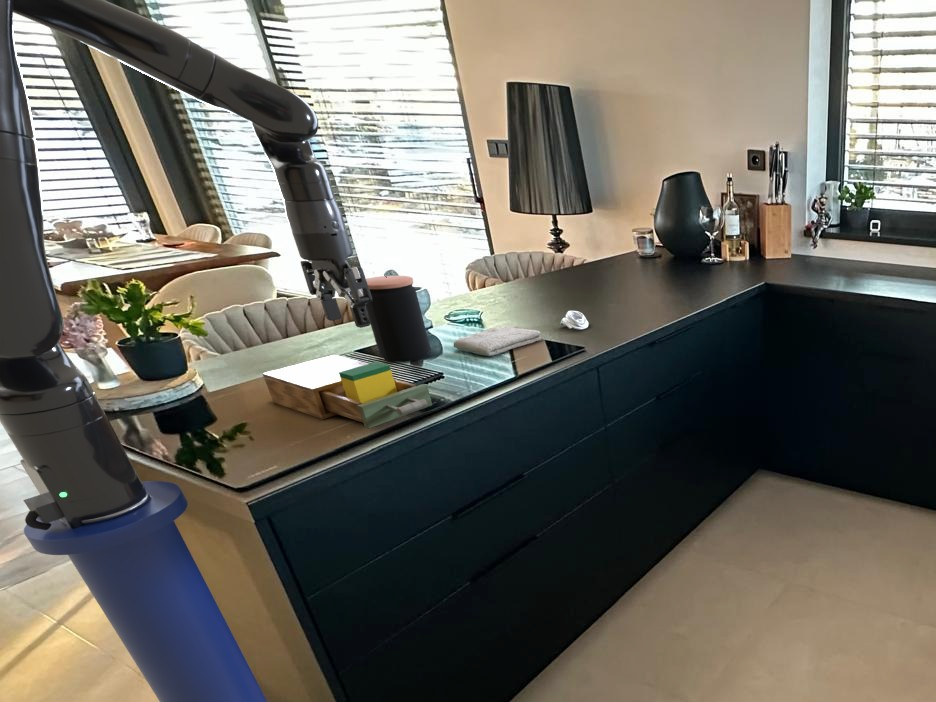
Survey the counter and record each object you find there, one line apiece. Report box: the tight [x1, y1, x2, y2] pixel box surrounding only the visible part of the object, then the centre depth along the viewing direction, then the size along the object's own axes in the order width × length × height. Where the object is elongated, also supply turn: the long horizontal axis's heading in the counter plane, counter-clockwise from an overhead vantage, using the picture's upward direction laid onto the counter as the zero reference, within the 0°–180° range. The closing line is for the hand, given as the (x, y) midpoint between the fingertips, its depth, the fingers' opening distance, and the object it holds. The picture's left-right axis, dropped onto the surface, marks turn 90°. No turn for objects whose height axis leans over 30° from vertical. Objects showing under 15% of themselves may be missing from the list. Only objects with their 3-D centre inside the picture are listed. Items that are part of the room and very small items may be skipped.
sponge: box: [339, 361, 397, 404], centre depth 117 cm, size 7×4×7 cm, turn 153°
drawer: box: [319, 377, 433, 429], centre depth 117 cm, size 20×12×4 cm, turn 63°
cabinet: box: [262, 354, 370, 420], centre depth 124 cm, size 17×14×6 cm
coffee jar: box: [361, 275, 431, 363], centre depth 145 cm, size 11×11×18 cm
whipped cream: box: [559, 310, 589, 330], centre depth 174 cm, size 8×7×5 cm
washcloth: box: [452, 325, 543, 357], centre depth 158 cm, size 12×18×3 cm, turn 155°
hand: (349, 323), depth 111 cm, fingers open, 8 cm apart
